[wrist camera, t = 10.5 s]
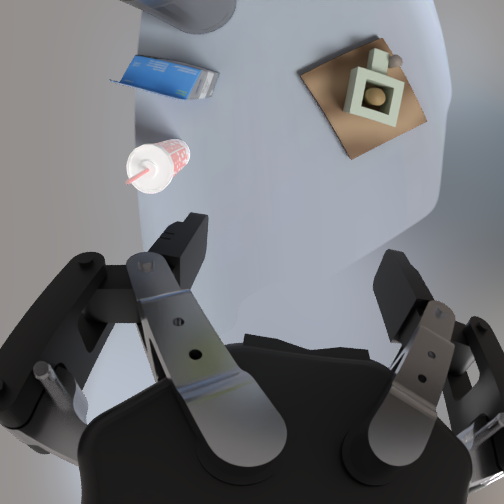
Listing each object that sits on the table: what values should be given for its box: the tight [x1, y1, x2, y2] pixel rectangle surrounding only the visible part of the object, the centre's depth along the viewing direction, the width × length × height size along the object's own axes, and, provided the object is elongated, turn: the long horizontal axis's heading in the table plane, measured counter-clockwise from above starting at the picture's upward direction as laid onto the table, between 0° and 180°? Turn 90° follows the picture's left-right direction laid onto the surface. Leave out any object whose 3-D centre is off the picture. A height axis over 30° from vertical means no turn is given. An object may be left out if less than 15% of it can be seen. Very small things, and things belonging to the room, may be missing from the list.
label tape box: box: [110, 55, 220, 101], centre depth 27 cm, size 9×4×12 cm, turn 68°
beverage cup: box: [125, 139, 190, 194], centre depth 32 cm, size 6×6×14 cm
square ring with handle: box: [343, 48, 404, 127], centre depth 28 cm, size 10×6×4 cm, turn 172°
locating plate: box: [300, 38, 427, 160], centre depth 29 cm, size 13×13×4 cm
